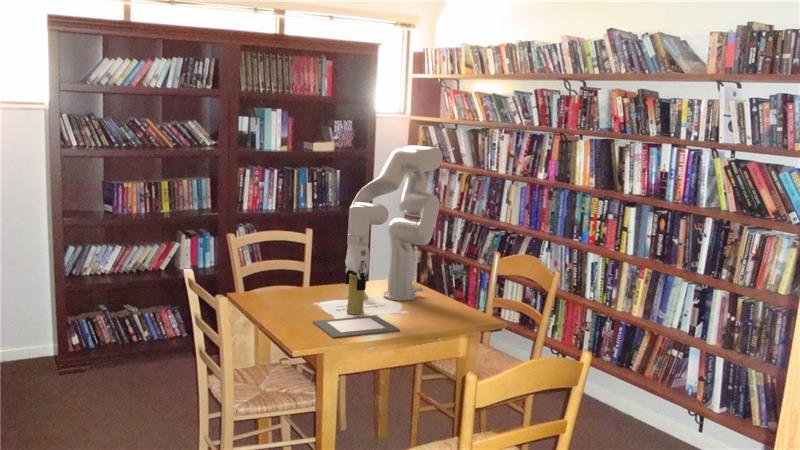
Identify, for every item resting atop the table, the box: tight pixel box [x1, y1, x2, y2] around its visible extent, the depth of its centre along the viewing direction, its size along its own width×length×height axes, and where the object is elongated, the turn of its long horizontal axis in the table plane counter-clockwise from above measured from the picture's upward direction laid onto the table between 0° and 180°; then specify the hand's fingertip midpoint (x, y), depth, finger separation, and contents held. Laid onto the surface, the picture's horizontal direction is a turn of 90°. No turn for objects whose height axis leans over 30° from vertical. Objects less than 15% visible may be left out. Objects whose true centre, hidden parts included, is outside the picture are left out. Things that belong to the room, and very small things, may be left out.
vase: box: [346, 272, 364, 316], centre depth 262 cm, size 6×6×14 cm
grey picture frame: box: [312, 314, 401, 339], centre depth 245 cm, size 24×18×1 cm
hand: (355, 287), depth 261 cm, fingers open, 9 cm apart
